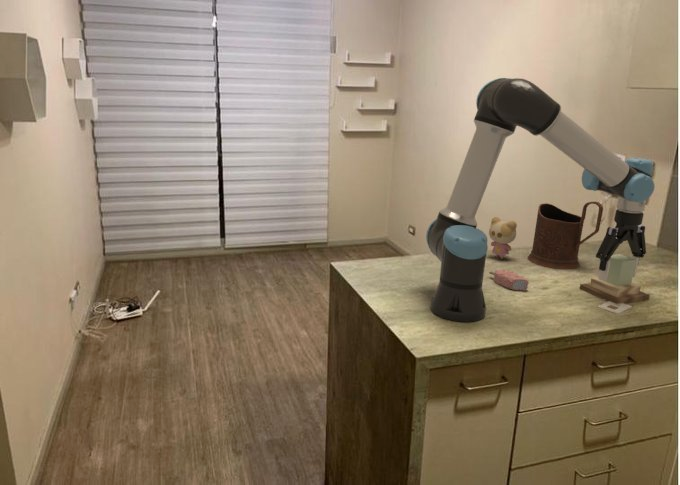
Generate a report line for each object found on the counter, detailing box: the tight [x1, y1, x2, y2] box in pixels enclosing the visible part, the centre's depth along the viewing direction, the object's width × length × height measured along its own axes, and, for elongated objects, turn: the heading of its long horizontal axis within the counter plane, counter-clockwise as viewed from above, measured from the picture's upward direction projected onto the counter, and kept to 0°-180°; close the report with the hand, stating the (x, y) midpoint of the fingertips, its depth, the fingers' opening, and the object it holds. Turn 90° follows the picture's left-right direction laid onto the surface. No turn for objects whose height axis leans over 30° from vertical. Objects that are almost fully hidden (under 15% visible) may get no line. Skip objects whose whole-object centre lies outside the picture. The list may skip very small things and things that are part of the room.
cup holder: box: [526, 201, 604, 271], centre depth 195 cm, size 18×24×25 cm
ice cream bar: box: [488, 269, 530, 292], centre depth 174 cm, size 6×4×15 cm
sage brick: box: [607, 253, 636, 286], centre depth 168 cm, size 6×6×8 cm
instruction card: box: [597, 301, 633, 315], centre depth 160 cm, size 9×6×1 cm, turn 129°
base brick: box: [579, 276, 650, 304], centre depth 170 cm, size 14×14×4 cm
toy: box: [488, 216, 518, 260], centre depth 199 cm, size 10×8×15 cm
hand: (616, 278), depth 169 cm, fingers open, 12 cm apart
